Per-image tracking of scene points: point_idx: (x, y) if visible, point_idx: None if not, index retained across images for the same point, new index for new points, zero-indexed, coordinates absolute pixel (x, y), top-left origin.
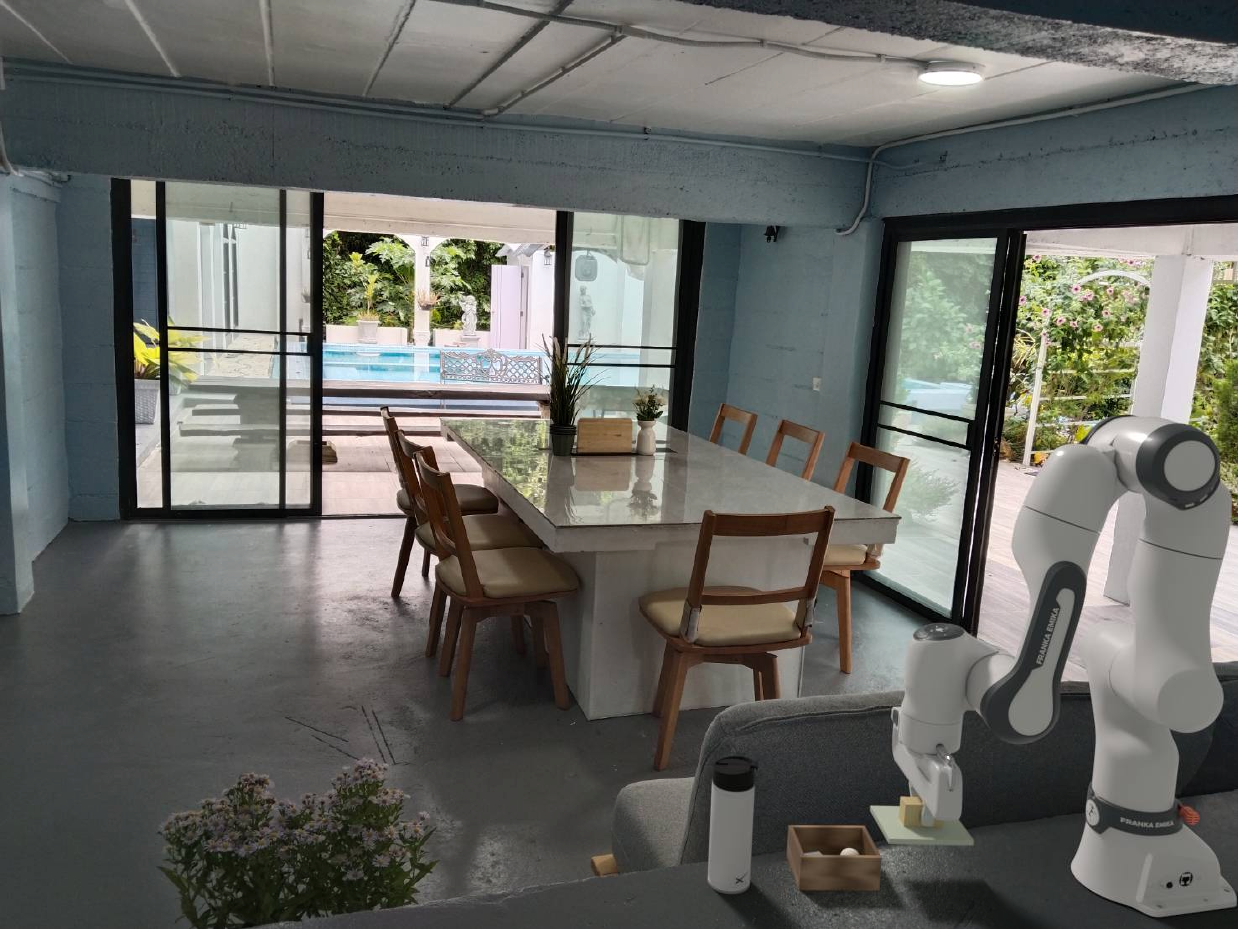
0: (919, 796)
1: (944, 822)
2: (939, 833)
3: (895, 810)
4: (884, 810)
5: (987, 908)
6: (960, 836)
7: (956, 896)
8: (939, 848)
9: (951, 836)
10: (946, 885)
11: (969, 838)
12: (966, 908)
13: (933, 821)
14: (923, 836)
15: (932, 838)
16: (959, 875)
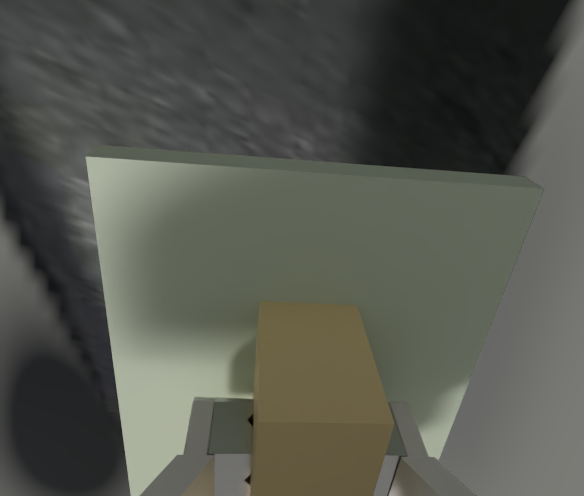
0: (201, 493)
1: (305, 277)
2: (421, 347)
3: (171, 456)
4: None
5: (498, 64)
6: (476, 250)
7: (405, 146)
8: (69, 60)
9: (465, 301)
10: (337, 152)
11: (515, 207)
12: (474, 143)
13: (413, 421)
14: (428, 419)
15: (454, 389)
16: (279, 69)
